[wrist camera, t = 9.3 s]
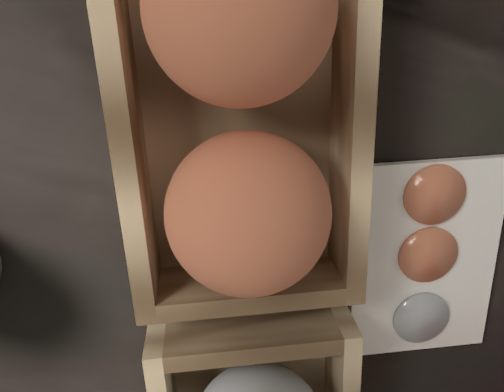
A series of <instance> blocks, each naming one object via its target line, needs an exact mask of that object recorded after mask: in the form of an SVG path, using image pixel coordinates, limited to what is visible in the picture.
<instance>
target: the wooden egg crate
mask: <svg viewBox="0 0 504 392" xmlns="http://www.w3.org/2000/svg"><path fill="white" fill-rule="evenodd" d="M86 3H87V10H88V16H89V23H90V29H91V35H92V42H93V48H94V55H95V61H96V68H97V74H98V81H99V87H100V94H101V100H102V107H103V113H104V119H105V126H106V132H107V139H108V145H109V152H110V158H111V165H112V171H113V178H114V184H115V191H116V197H117V204H118V210H119V216H120V223H121V229H122V236H123V242H124V249H125V255H126V262H127V268H128V275H129V281H130V288H131V294H132V300H133V307H134V313H135V320H136V326H141V325H152V324H162V323H173V322H183V321H194V320H204V319H215V318H225V317H236V316H246V315H257V314H267V313H278V312H288V311H299V310H309V309H320V308H330V307H341V306H351V305H362V304H365V303H366V285H367V268H368V251H369V234H370V216H371V199H372V182H373V165H374V147H375V130H376V113H377V96H378V78H379V61H380V44H381V27H382V9H383V0H338V17H337V23H336V28H335V33H334V36H333V39H332V42H331V45H330V47H329V49H328V51H327V53H326V55H325V57H324V59H323V61H322V62H321V64H320V65H319V67H318V68H317V70H316V71H315V72H314V73H313V75H312V76H311V77H310V78H309V79H308V80H307V81H306V82H305V83H304V84H303V85H302V86H301V87H299V88H298V89H297V90H295V91H294V92H293V93H291V94H290V95H288V96H286V97H284V98H283V99H281V100H278V101H276V102H273V103H271V104H268V105H264V106H260V107H255V108H247V109H231V108H224V107H219V106H215V105H212V104H208V103H206V102H204V101H201V100H199V99H197V98H195V97H193V96H192V95H190V94H188V93H187V92H185V91H184V90H183V89H181V88H180V87H179V86H178V85H176V84H175V83H174V82H173V81H172V80H171V79H170V78H169V77H168V76H167V74H166V73H165V72H164V71H163V69H162V68H161V67H160V66H159V64H158V62H157V61H156V59H155V57H154V56H153V54H152V52H151V50H150V47H149V45H148V43H147V40H146V37H145V34H144V31H143V27H142V21H141V16H140V1H139V0H86ZM235 130H260V131H266V132H270V133H273V134H277V135H279V136H281V137H284V138H286V139H288V140H290V141H291V142H293V143H295V144H296V145H297V146H299V147H300V148H301V149H302V150H304V151H305V152H306V153H307V154H308V155H309V156H310V157H311V158H312V160H313V161H314V162H315V163H316V165H317V166H318V168H319V169H320V171H321V173H322V175H323V177H324V179H325V181H326V183H327V186H328V189H329V193H330V198H331V204H332V224H331V230H330V234H329V239H328V241H327V244H326V247H325V249H324V251H323V253H322V255H321V256H320V258H319V260H318V261H317V263H316V264H315V265H314V267H313V268H312V269H311V270H310V271H309V272H308V273H307V275H305V276H304V277H303V278H302V279H301V280H300V281H298V282H297V283H295V284H294V285H292V286H290V287H289V288H287V289H285V290H283V291H280V292H278V293H275V294H272V295H268V296H264V297H257V298H238V297H232V296H227V295H223V294H220V293H217V292H215V291H213V290H211V289H209V288H207V287H205V286H204V285H202V284H201V283H199V282H198V281H196V280H195V279H194V278H193V277H191V276H190V275H189V274H188V273H187V272H186V270H185V269H184V268H183V267H182V266H181V264H180V263H179V261H178V260H177V259H176V257H175V255H174V253H173V251H172V250H171V247H170V244H169V242H168V239H167V236H166V231H165V226H164V202H165V196H166V192H167V188H168V186H169V183H170V181H171V178H172V176H173V174H174V172H175V171H176V169H177V167H178V166H179V165H180V163H181V162H182V161H183V159H184V158H185V157H186V156H187V155H188V154H189V153H190V152H191V151H192V150H193V149H195V148H196V147H197V146H199V145H200V144H201V143H203V142H205V141H206V140H208V139H210V138H212V137H214V136H217V135H219V134H222V133H226V132H229V131H235Z"/></svg>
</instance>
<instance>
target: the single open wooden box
mask: <svg viewBox="0 0 504 392" xmlns="http://www.w3.org/2000/svg"><path fill="white" fill-rule="evenodd" d="M362 355H363V336H362V334H361V332H360V330H359V328H358V326H357V324H356V322H355V320H354V318H353V316H352V314H351V312H350V310H349V308H348V306H341V307H330V308H320V309H309V310H299V311H288V312H278V313H267V314H257V315H246V316H236V317H225V318H215V319H204V320H194V321H183V322H173V323H162V324H152V325H148V326H147V332H146V338H145V344H144V350H143V356H142V365H143V372H144V378H145V384H146V391H147V392H204V390H205V389H206V387H207V386H208V385H209V384H210V382H211V381H212V380H213V379H214V378H216V377H217V376H218V375H219V374H220V373H222V372H223V371H225V370H226V369H228V368H230V367H236V366H245V365H255V364H265V363H277V364H280V365H282V366H285V367H287V368H289V369H290V370H292V371H294V372H295V373H296V374H298V375H299V376H300V377H301V378H302V379H303V380H304V381H305V382H306V383H307V384H308V385H309V386H310V387H311V389H312V390H313V392H360V389H361V372H362Z"/></svg>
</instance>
